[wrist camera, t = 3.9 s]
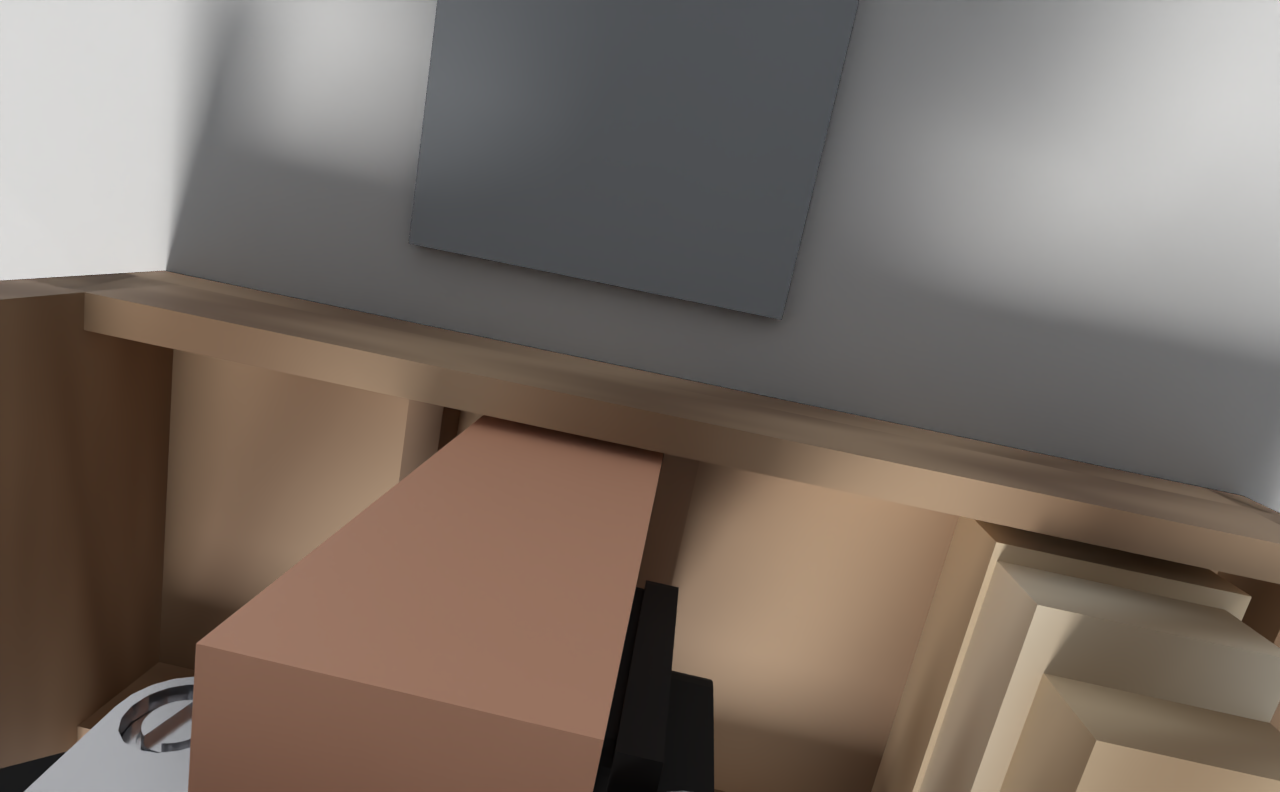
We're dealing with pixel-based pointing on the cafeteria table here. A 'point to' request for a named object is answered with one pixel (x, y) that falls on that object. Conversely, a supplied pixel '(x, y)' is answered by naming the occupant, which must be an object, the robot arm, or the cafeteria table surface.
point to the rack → (432, 417)
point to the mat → (631, 139)
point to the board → (439, 630)
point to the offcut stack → (1082, 675)
